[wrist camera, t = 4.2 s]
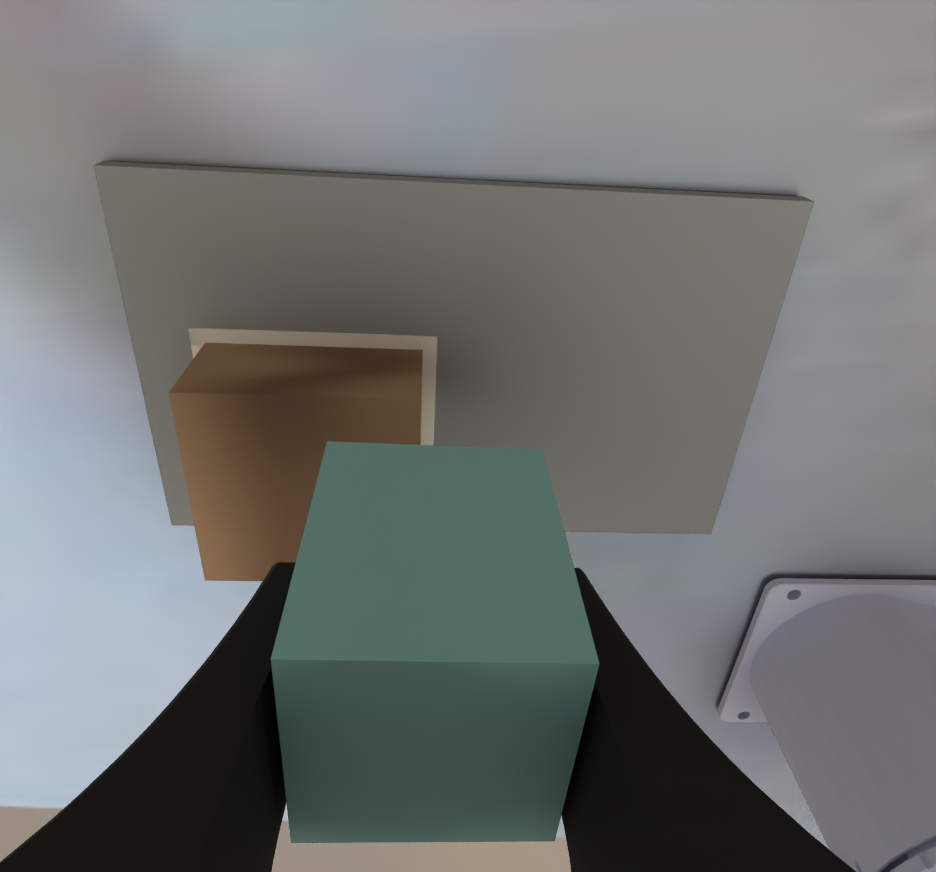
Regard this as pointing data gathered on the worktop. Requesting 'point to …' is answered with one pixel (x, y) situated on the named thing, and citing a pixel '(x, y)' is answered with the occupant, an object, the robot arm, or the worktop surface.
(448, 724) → the teal block
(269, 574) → the robot arm
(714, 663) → the worktop surface
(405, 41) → the worktop surface
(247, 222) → the build mat
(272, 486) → the walnut slab
